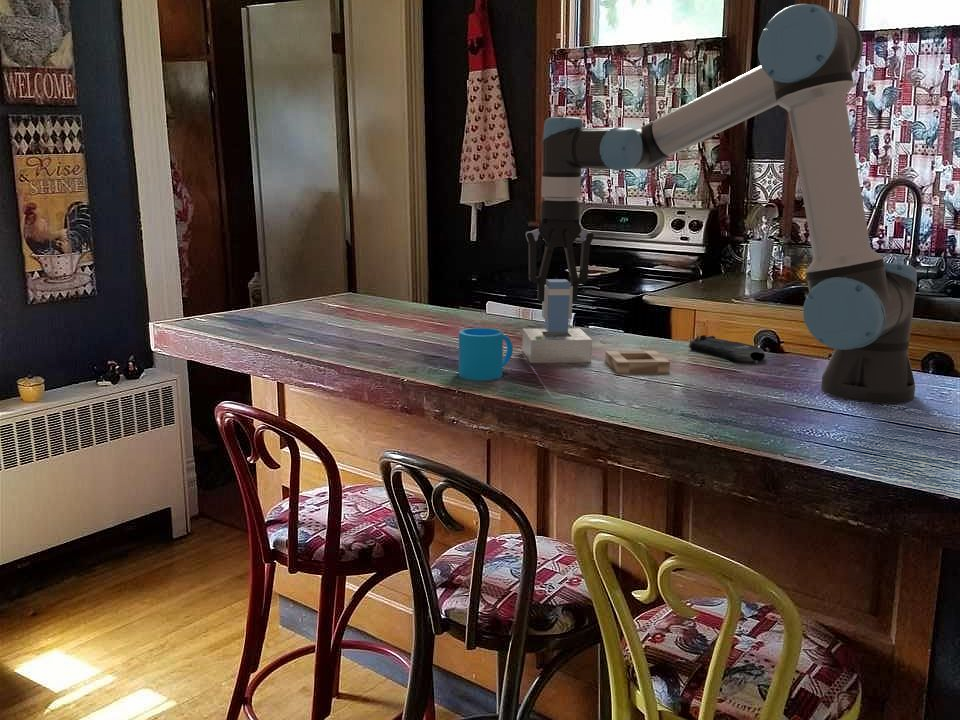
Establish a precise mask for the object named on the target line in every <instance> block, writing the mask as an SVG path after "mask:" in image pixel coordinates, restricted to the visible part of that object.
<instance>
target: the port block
mask: <svg viewBox="0 0 960 720" xmlns="http://www.w3.org/2000/svg"><path fill="white" fill-rule="evenodd" d="M521 338H522V341H521V344H522V345H521V353H522V354H523V357H525V359H526V360H527V362H528V364H529V365H530V366H533V364H557V363H558V364H569V363H571V364H575V363H577V364H578V363H579V364H580V363H584V364H585V363H586V364H587V363H592V356H593V355H592V353H593V352H592V351H593V339H592V338H591V337H590V336H589V335H587V333H585V332H584V331H583V330H582V329H581V328H579V327H576V328H574V327H573V328H570V327H568V332H548V331H547V330H546V329H545V328H522V336H521Z"/></svg>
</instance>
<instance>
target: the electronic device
mask: <svg viewBox="0 0 960 720" xmlns="http://www.w3.org/2000/svg"><path fill="white" fill-rule="evenodd" d="M699 336H700V337H695V338H692V339H691V340H690V341H689V345H688V348H690V350H691V351H695V352H699V353H703V354H706V355H711V356H712V355H713V356H716V357H719V358H723V359H724V360H725V359H726V360H727V361H728V360H729V361H728V362H731V361H733V362H734V363H738V362H739V364H754V363H756V364H758V363H760V362H762V361H763V360H764V359H765V358H766V353H765V351H764V350H763V349H762V348H761V347H760V346H759V347H758V346H756V345H752V344H748V343H743V342H738V341H731V340H727V339H721V338H720V339H719V338H716V336H714V335H712V336H707V335H704V334H702V335H699ZM752 357H753V358H752ZM754 358H757V359H759V360H755V359H754ZM733 362H732V363H733Z"/></svg>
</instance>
